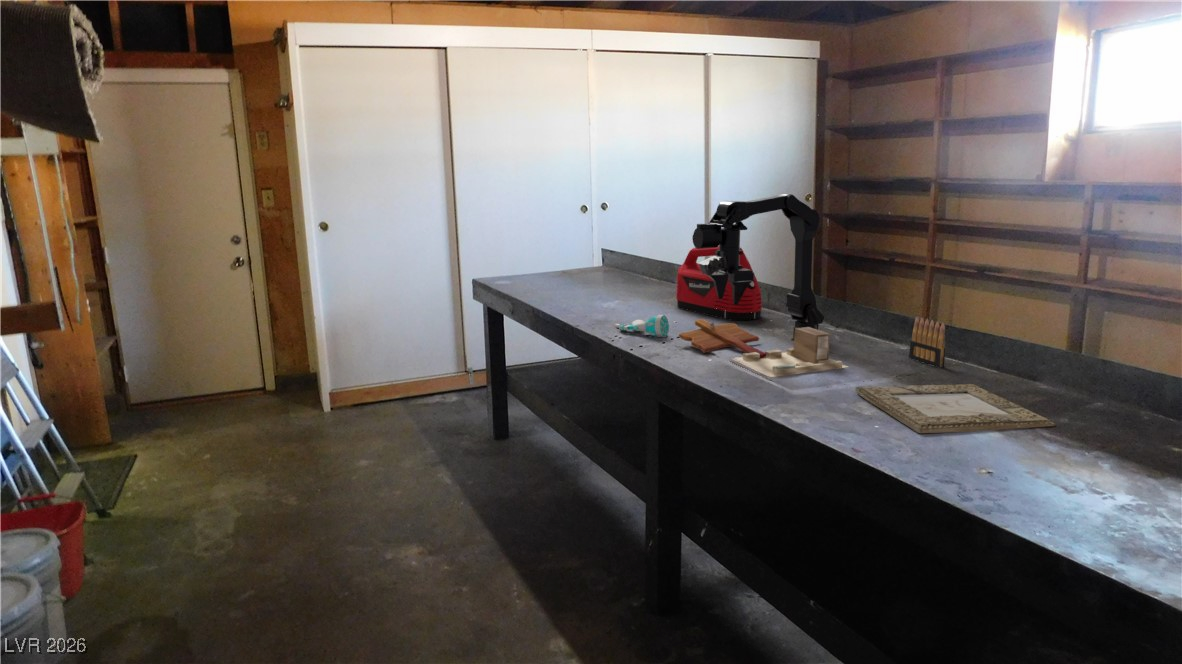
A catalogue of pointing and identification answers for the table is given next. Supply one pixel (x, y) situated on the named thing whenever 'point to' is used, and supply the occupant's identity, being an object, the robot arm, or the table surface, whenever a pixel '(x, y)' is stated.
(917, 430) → the picture frame
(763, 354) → the sign
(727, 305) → the power tool
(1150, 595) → the table surface
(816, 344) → the brown wooden box
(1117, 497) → the table surface
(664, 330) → the garden hose nozzle
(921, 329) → the ammunition clip
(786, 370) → the birch notch board
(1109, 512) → the table surface
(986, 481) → the table surface
